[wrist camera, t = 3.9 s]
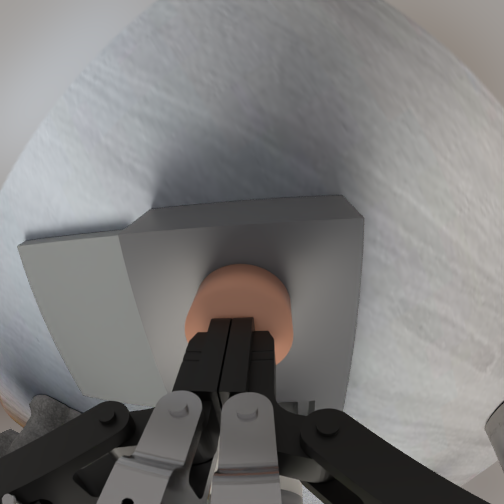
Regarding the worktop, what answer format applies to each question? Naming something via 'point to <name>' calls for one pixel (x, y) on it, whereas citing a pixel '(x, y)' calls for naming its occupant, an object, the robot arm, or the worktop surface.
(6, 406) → the worktop surface
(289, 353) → the housing
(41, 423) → the figurine
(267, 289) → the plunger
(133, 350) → the mat
